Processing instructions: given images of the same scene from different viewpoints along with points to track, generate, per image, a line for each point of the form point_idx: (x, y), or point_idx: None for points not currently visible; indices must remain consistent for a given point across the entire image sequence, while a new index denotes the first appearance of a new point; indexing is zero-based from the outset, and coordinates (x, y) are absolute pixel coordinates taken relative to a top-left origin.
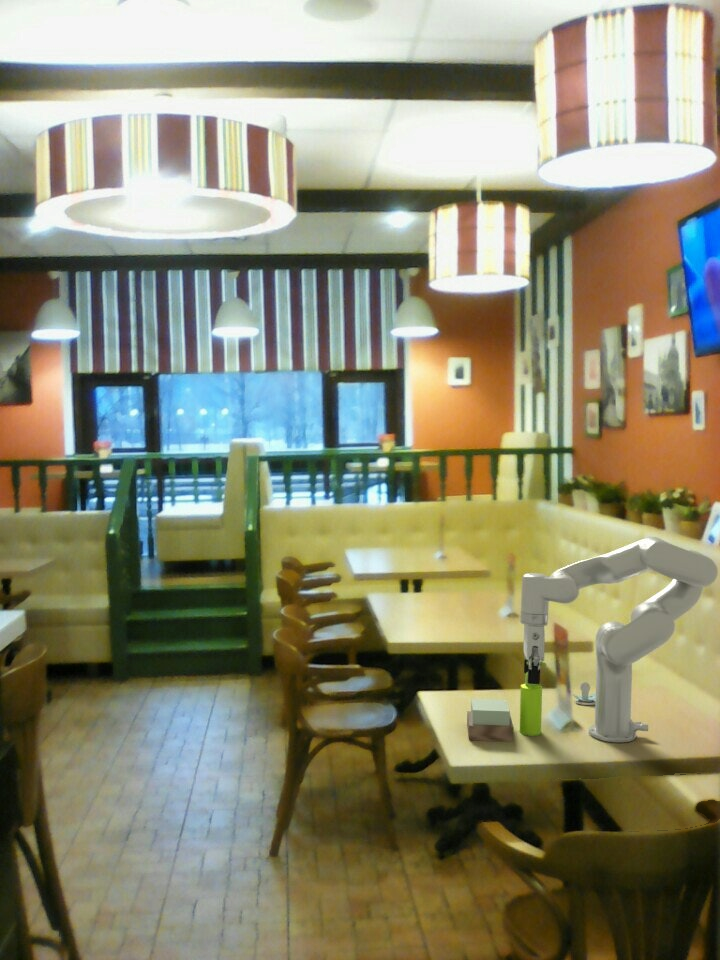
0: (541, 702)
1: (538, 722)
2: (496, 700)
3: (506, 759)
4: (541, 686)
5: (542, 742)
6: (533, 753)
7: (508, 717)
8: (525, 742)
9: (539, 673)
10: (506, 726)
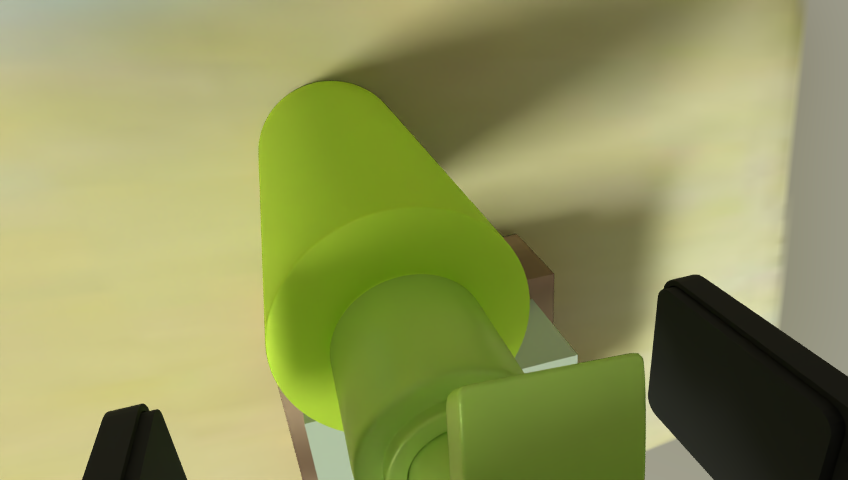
0: (395, 147)
1: (399, 121)
2: (342, 478)
3: (737, 235)
4: (393, 217)
5: (506, 67)
6: (673, 116)
7: (555, 335)
8: (519, 169)
9: (820, 369)
10: (546, 312)
